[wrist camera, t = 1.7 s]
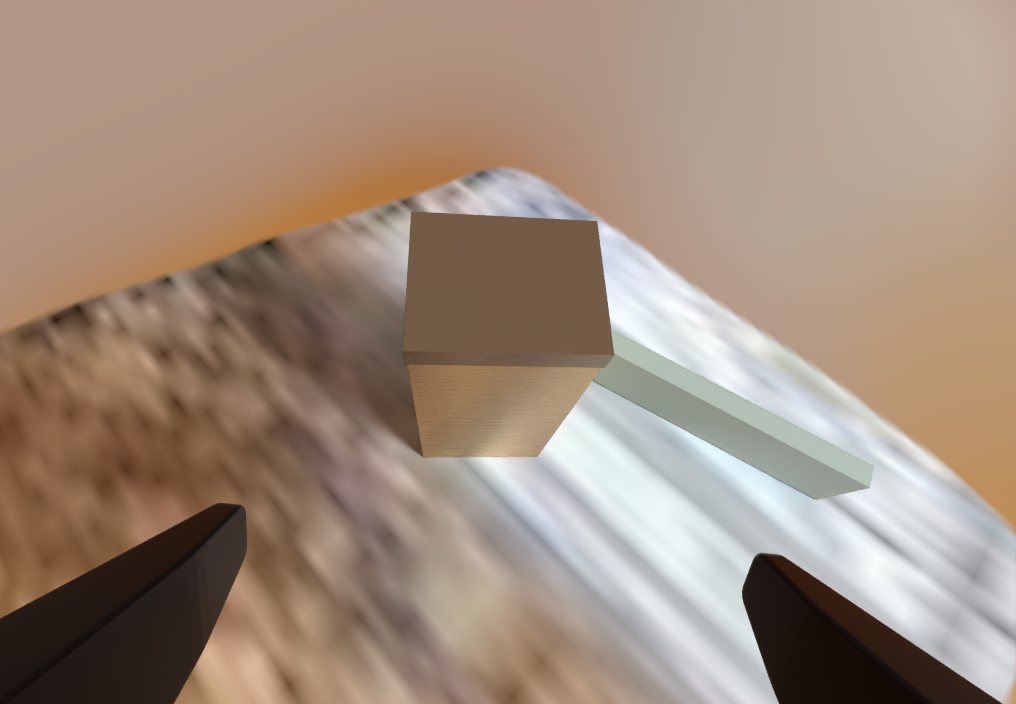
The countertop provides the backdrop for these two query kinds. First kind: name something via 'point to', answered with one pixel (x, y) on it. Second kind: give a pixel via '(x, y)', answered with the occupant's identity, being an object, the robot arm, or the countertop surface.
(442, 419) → the brown block
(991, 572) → the countertop surface
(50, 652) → the robot arm
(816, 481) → the rail
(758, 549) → the countertop surface
